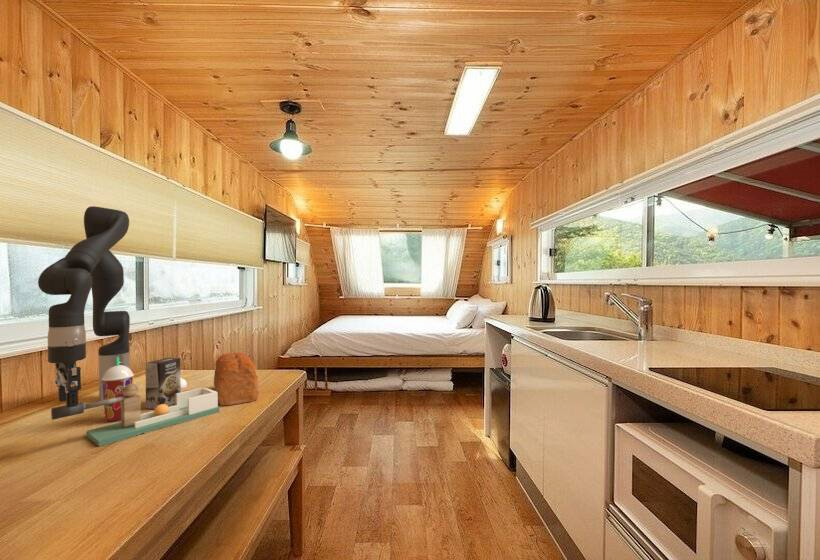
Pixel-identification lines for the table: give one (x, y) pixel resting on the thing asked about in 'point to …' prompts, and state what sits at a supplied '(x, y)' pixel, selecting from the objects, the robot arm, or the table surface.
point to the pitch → (161, 417)
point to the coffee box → (162, 382)
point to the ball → (161, 410)
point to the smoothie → (115, 389)
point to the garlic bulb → (183, 383)
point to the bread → (235, 379)
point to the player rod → (128, 404)
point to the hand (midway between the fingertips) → (68, 403)
